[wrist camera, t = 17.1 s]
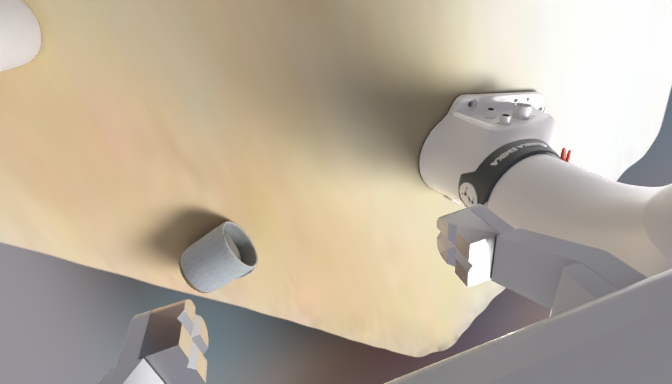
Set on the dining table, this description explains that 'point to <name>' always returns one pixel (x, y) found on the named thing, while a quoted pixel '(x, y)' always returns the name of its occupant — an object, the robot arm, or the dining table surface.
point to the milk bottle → (17, 34)
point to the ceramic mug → (218, 258)
